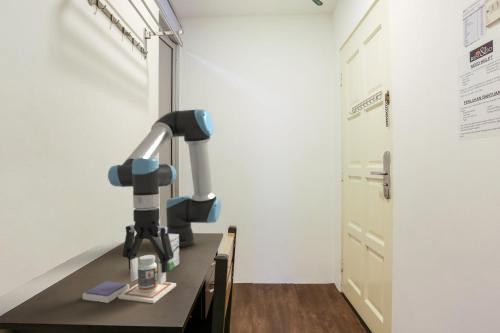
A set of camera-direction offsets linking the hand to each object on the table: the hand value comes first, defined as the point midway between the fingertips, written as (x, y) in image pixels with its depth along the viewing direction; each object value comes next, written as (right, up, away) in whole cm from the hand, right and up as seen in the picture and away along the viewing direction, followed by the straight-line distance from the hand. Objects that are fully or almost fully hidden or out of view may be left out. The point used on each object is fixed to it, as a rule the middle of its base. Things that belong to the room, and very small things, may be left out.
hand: (148, 281), depth 89 cm
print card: (0, -3, 0) cm, 3 cm away
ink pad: (-12, -4, -1) cm, 13 cm away
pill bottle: (0, -3, 0) cm, 3 cm away
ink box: (0, -3, +22) cm, 22 cm away
